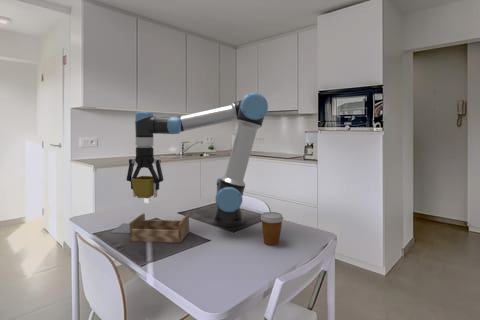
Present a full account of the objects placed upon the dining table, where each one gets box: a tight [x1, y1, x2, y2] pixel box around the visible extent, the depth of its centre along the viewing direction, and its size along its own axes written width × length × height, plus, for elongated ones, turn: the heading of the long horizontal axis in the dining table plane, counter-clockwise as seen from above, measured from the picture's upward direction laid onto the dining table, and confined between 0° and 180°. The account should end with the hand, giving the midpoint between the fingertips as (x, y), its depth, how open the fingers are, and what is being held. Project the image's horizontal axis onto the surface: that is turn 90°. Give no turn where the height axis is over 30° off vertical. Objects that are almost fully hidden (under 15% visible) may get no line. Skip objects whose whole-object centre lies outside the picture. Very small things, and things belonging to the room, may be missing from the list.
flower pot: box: [131, 175, 155, 199], centre depth 132 cm, size 9×9×9 cm
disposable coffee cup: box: [260, 211, 284, 246], centre depth 123 cm, size 10×10×12 cm
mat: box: [109, 222, 130, 235], centre depth 140 cm, size 13×13×1 cm
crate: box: [129, 212, 190, 244], centre depth 130 cm, size 22×14×8 cm, turn 86°
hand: (145, 196), depth 132 cm, fingers closed on flower pot, 9 cm apart
